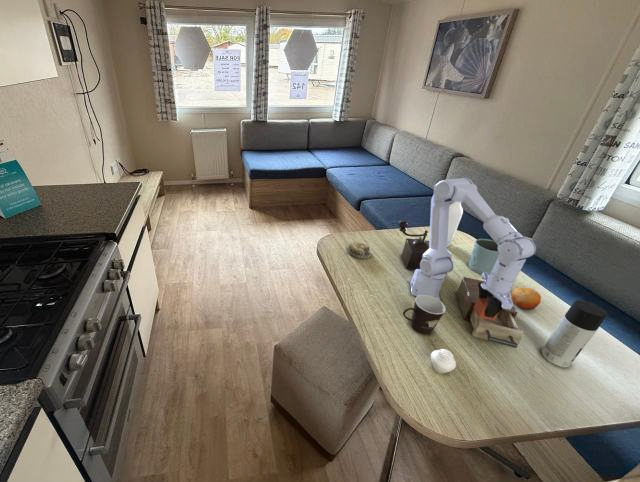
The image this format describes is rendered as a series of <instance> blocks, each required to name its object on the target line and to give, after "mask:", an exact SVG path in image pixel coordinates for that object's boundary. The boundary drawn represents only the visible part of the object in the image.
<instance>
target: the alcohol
mask: <svg viewBox="0 0 640 482" xmlns="http://www.w3.org/2000/svg"><path fill="white" fill-rule="evenodd" d="M463 214H464V209H463V206H462V202H457V201H455V202H454V203H452V204H451V205H450V206H449V222H448V241H447V248H448V247H450V246H451V245H452V243H453V240H454V237H455V234H456V232H457V230H458V227H459V224H460V222H461V220H462V217H463Z"/></svg>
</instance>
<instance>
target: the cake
mask: <svg viewBox="0 0 640 482" xmlns="http://www.w3.org/2000/svg"><path fill="white" fill-rule="evenodd" d="M370 251H371V250H370V246H369V244H367V243H366V242H362V241H361V242H360V241H356V242H352V243H351V244H350V245H349V248H348V250H347V252H348V254H349V255H351V256H352V257H354V258H357V259H368V258H370V257H371V255H372V253H371V252H370Z"/></svg>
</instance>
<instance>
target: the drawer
mask: <svg viewBox="0 0 640 482" xmlns="http://www.w3.org/2000/svg"><path fill="white" fill-rule="evenodd" d="M473 307H474V306H473ZM469 316H470V319H471V321H470V322H471V325H472V328H473V331H472V334H471V335H472V337H474V338H478V339H482V340H486V341H488V342H492V343H496V344H500V345H502V346H507V347H511V348H514V349H517V348H518V344H519V343H520V342H521V340H522V338H523V337H524V336H525V332H524V331H523V330H520V329H519V326H518V325H517V323H516V320H515V318H514V319H513V316H512V314H511V313H508V312H503V311H500V312H499V313H498V315H497V317H496V319H495V320H490V319H483V318H479V317H478V315H477V314H476V312H475V310H474V308H472V310H471V312H470V314H469Z"/></svg>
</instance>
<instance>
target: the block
mask: <svg viewBox="0 0 640 482" xmlns="http://www.w3.org/2000/svg"><path fill="white" fill-rule="evenodd" d="M487 305H488V300H487V299H485V298H478V299H477V301H476V303H475V305H474V307H473V308H474V310H475V312H476V314H477V315H478V317H479V318H483V319H490V320H495V319H496V317H497V315H498V314H497V315H495V316H494V317H493V318H492V317H486V316H485V311H486V308H487Z"/></svg>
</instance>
